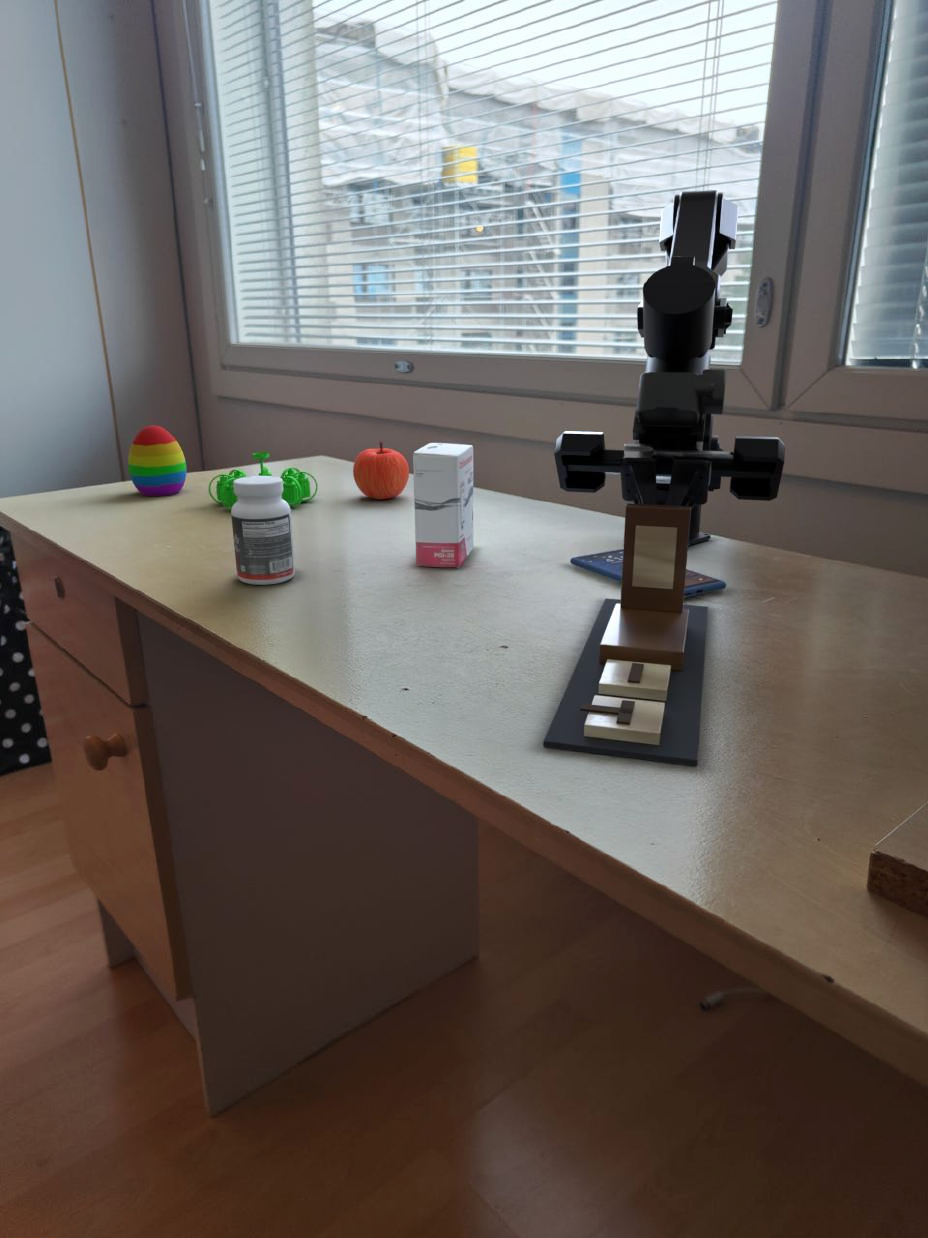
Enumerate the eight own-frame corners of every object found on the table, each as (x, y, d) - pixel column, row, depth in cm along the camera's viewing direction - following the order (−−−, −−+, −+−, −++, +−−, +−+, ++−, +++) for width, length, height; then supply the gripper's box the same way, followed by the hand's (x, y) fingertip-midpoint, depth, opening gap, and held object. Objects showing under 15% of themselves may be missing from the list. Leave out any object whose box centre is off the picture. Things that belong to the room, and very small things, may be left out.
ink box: (459, 569, 89) (458, 454, 85) (413, 567, 90) (410, 453, 86) (475, 548, 97) (474, 442, 93) (432, 546, 98) (430, 441, 94)
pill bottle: (242, 570, 89) (233, 475, 86) (298, 569, 89) (291, 473, 86) (233, 587, 83) (223, 485, 80) (292, 585, 84) (284, 484, 81)
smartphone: (669, 594, 77) (568, 557, 89) (668, 603, 77) (567, 564, 90) (729, 581, 81) (624, 547, 93) (728, 589, 81) (624, 554, 93)
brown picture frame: (614, 619, 72) (621, 502, 69) (688, 626, 71) (697, 506, 68) (598, 663, 63) (605, 530, 60) (682, 671, 62) (693, 535, 58)
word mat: (605, 602, 78) (605, 588, 78) (707, 610, 76) (708, 595, 75) (543, 747, 52) (543, 726, 51) (696, 766, 50) (698, 745, 49)
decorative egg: (139, 488, 133) (130, 422, 130) (193, 487, 134) (186, 421, 131) (125, 498, 125) (116, 429, 122) (183, 497, 126) (175, 428, 123)
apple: (361, 491, 129) (359, 437, 127) (414, 492, 128) (412, 438, 125) (347, 502, 122) (344, 445, 119) (403, 503, 121) (401, 446, 118)
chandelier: (268, 489, 132) (265, 443, 130) (340, 499, 123) (337, 451, 121) (187, 505, 120) (181, 456, 118) (260, 518, 112) (255, 465, 110)
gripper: (561, 333, 72) (532, 488, 66) (797, 333, 67) (790, 500, 61) (573, 419, 82) (548, 560, 76) (780, 423, 77) (772, 576, 71)
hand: (656, 549), depth 70 cm, fingers closed
